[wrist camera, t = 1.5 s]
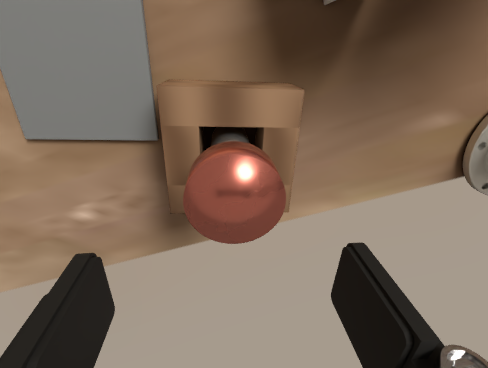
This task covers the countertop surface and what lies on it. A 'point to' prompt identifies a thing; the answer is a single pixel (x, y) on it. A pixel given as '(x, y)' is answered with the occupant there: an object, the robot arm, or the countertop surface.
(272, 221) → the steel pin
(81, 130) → the rubber mat
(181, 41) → the countertop surface
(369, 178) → the countertop surface
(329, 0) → the medicine box
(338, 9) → the countertop surface
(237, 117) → the eye block
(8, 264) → the countertop surface
